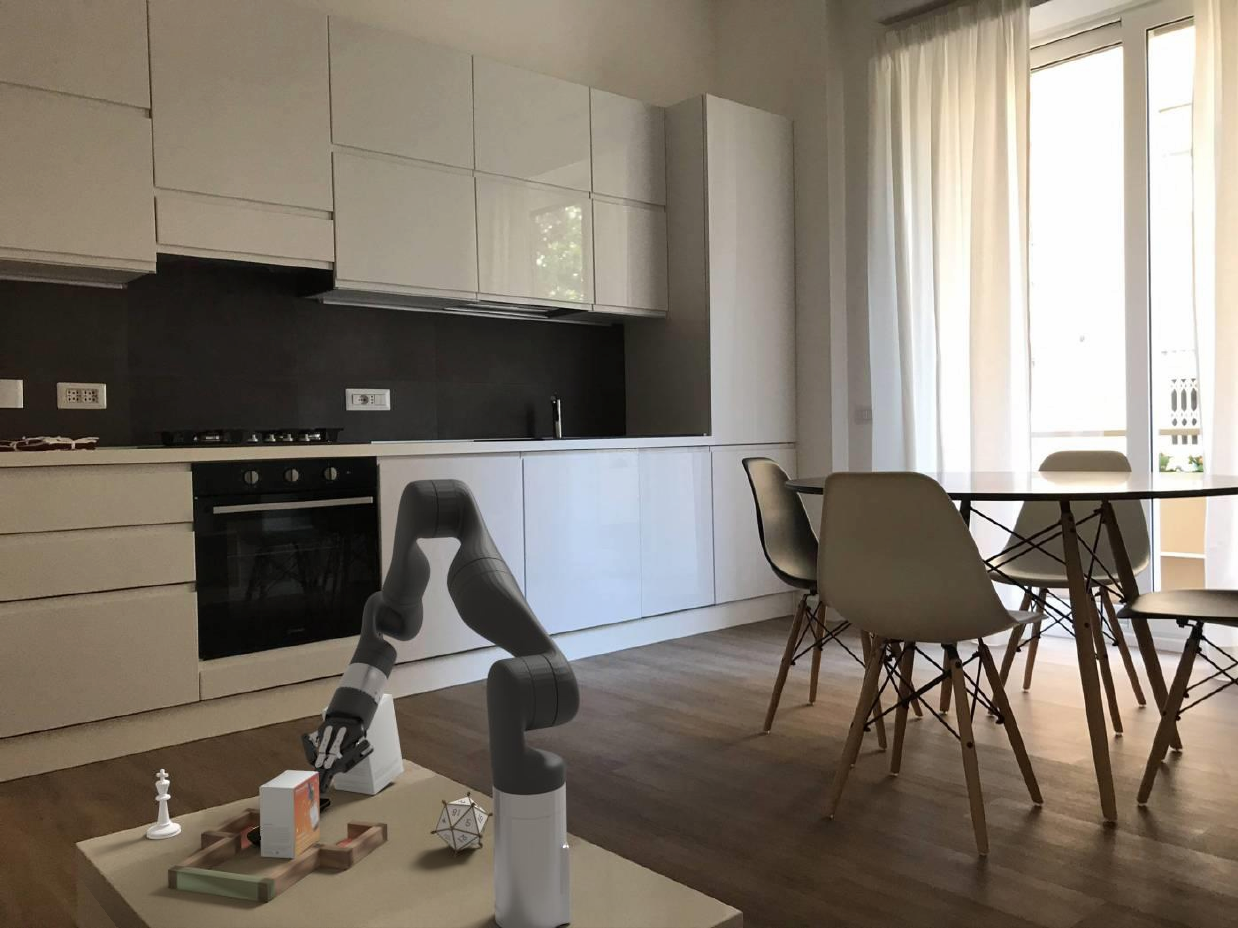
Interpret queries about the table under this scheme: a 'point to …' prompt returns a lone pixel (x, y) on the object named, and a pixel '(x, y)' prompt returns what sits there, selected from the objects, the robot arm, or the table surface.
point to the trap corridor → (233, 840)
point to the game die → (462, 823)
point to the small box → (289, 814)
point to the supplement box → (375, 754)
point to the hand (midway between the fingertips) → (315, 793)
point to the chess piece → (163, 813)
